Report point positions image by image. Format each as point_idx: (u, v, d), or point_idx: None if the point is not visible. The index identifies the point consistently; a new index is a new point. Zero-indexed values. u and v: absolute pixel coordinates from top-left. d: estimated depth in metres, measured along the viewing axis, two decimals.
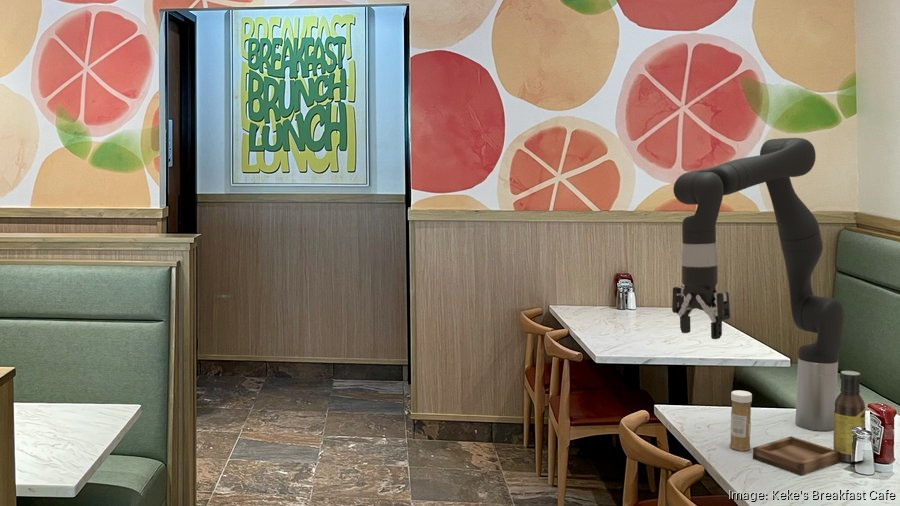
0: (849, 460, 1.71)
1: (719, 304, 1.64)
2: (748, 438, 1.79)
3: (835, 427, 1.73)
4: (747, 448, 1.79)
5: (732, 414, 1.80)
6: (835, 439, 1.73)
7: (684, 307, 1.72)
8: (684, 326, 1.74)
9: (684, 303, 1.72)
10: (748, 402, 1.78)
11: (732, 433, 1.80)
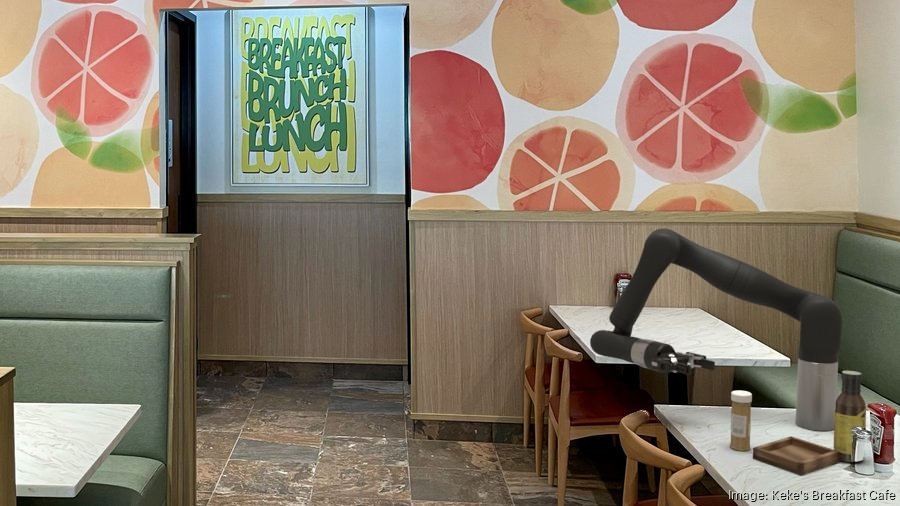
0: (849, 460, 1.71)
1: None
2: (748, 438, 1.79)
3: (835, 426, 1.73)
4: (747, 448, 1.79)
5: (732, 414, 1.80)
6: (835, 439, 1.73)
7: None
8: (707, 368, 1.93)
9: None
10: (748, 402, 1.78)
11: (732, 433, 1.80)
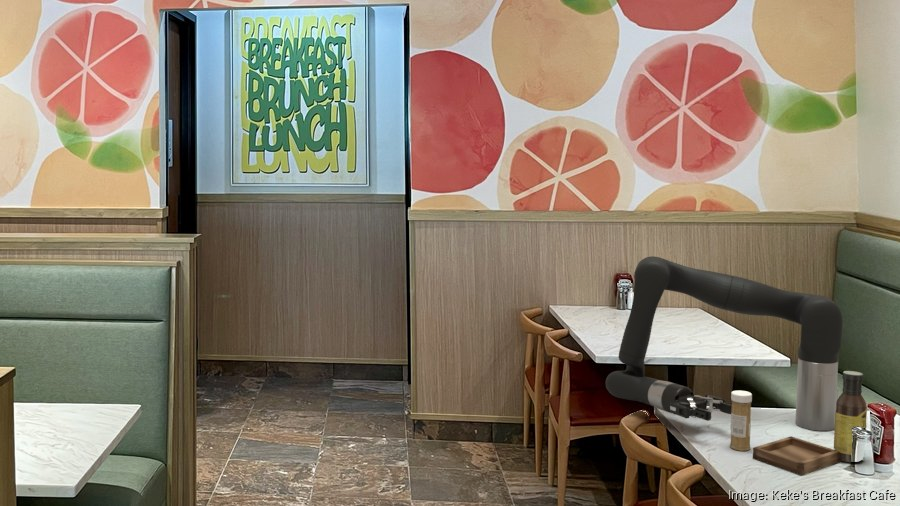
0: (849, 460, 1.71)
1: None
2: (748, 438, 1.79)
3: (836, 426, 1.73)
4: (747, 448, 1.79)
5: (732, 414, 1.80)
6: (836, 439, 1.73)
7: None
8: (727, 412, 1.88)
9: None
10: (748, 402, 1.78)
11: (732, 433, 1.80)
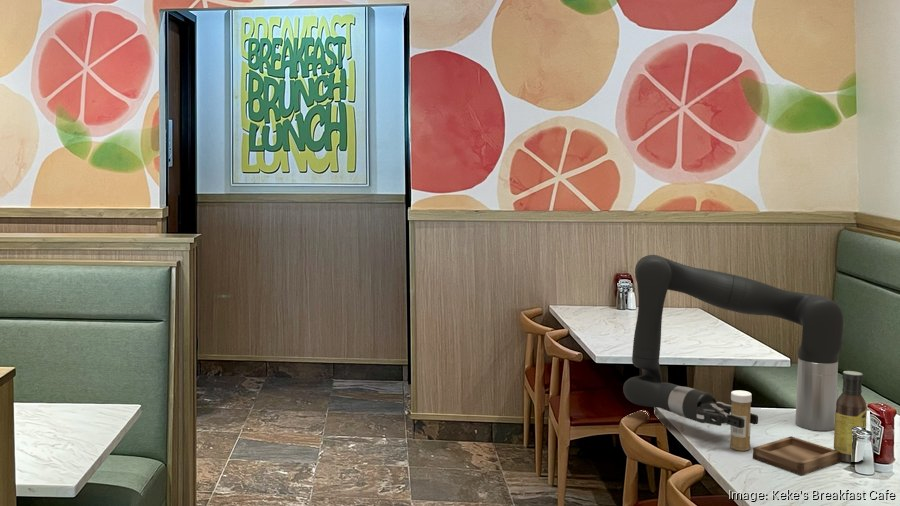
0: (849, 460, 1.71)
1: None
2: (748, 438, 1.79)
3: (835, 426, 1.73)
4: (747, 448, 1.79)
5: (732, 414, 1.80)
6: (835, 439, 1.73)
7: None
8: (750, 422, 1.81)
9: None
10: (748, 402, 1.78)
11: (732, 433, 1.80)
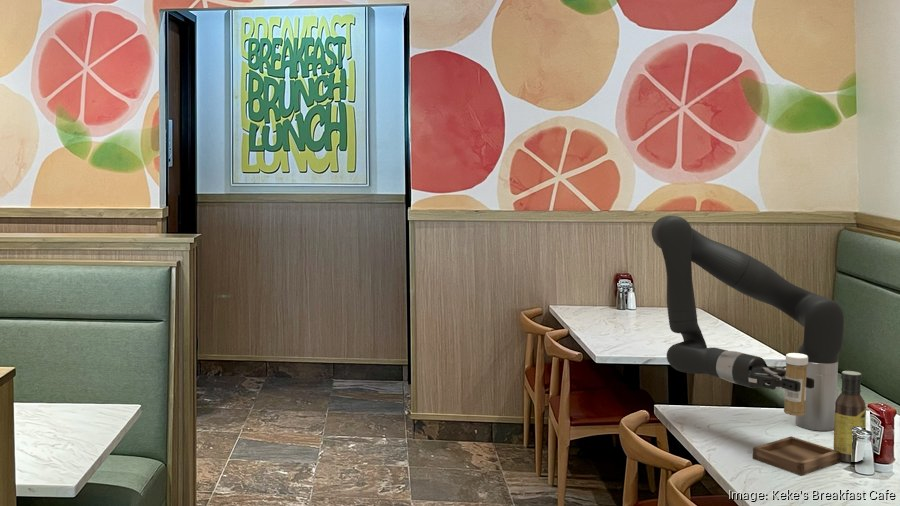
0: (849, 460, 1.71)
1: None
2: (804, 403, 1.71)
3: (835, 427, 1.73)
4: (802, 413, 1.71)
5: (787, 377, 1.71)
6: (835, 439, 1.73)
7: None
8: None
9: None
10: (804, 365, 1.69)
11: (786, 397, 1.72)
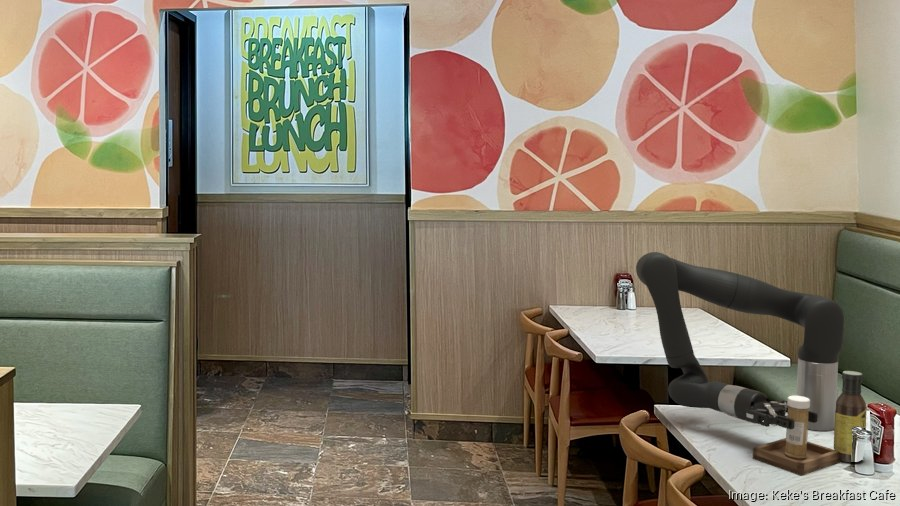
0: (849, 460, 1.71)
1: None
2: (805, 446, 1.71)
3: (835, 426, 1.73)
4: (804, 456, 1.71)
5: None
6: (835, 439, 1.73)
7: None
8: (808, 420, 1.74)
9: None
10: (806, 408, 1.70)
11: (788, 440, 1.72)
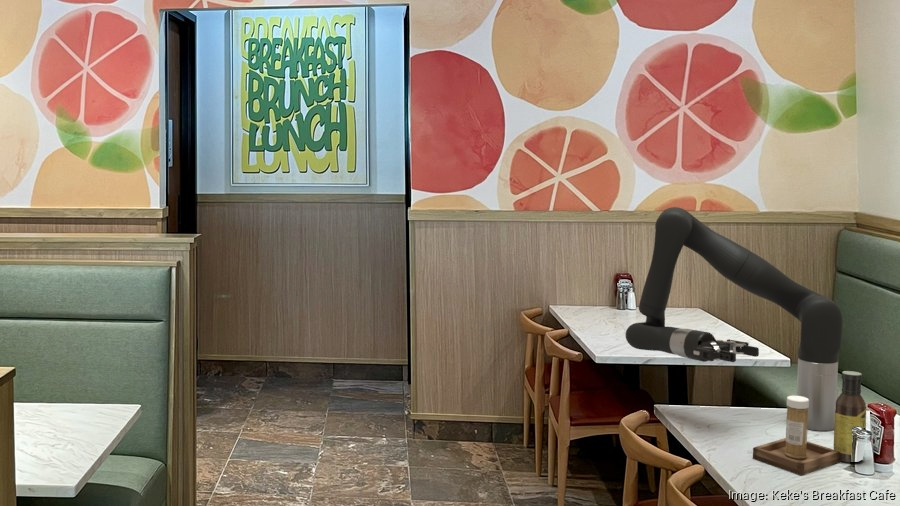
0: (849, 460, 1.71)
1: None
2: (805, 446, 1.71)
3: (835, 427, 1.73)
4: (804, 456, 1.71)
5: (788, 420, 1.72)
6: (835, 439, 1.73)
7: None
8: (751, 354, 1.88)
9: None
10: (805, 408, 1.70)
11: (788, 440, 1.72)
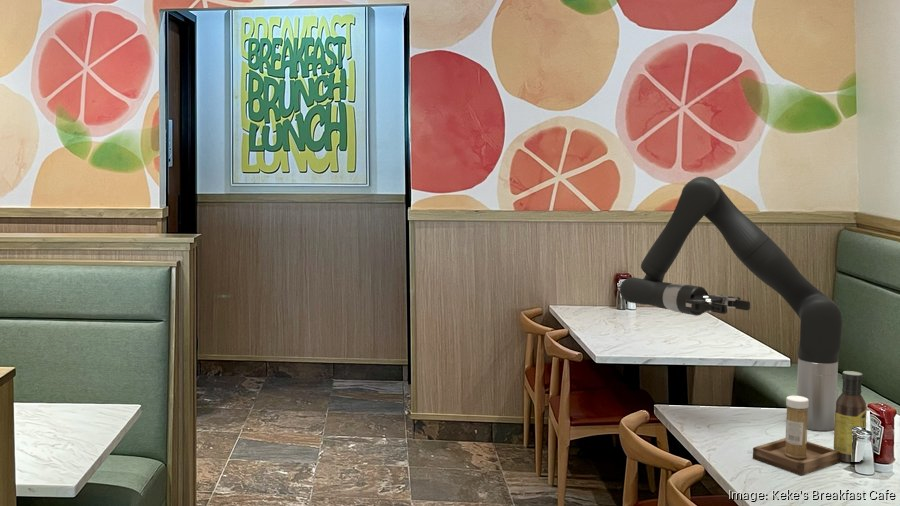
0: (849, 460, 1.71)
1: None
2: (805, 446, 1.71)
3: (835, 427, 1.73)
4: (804, 456, 1.71)
5: (788, 420, 1.72)
6: (835, 439, 1.73)
7: None
8: (742, 308, 1.90)
9: None
10: (805, 408, 1.70)
11: (788, 440, 1.72)
